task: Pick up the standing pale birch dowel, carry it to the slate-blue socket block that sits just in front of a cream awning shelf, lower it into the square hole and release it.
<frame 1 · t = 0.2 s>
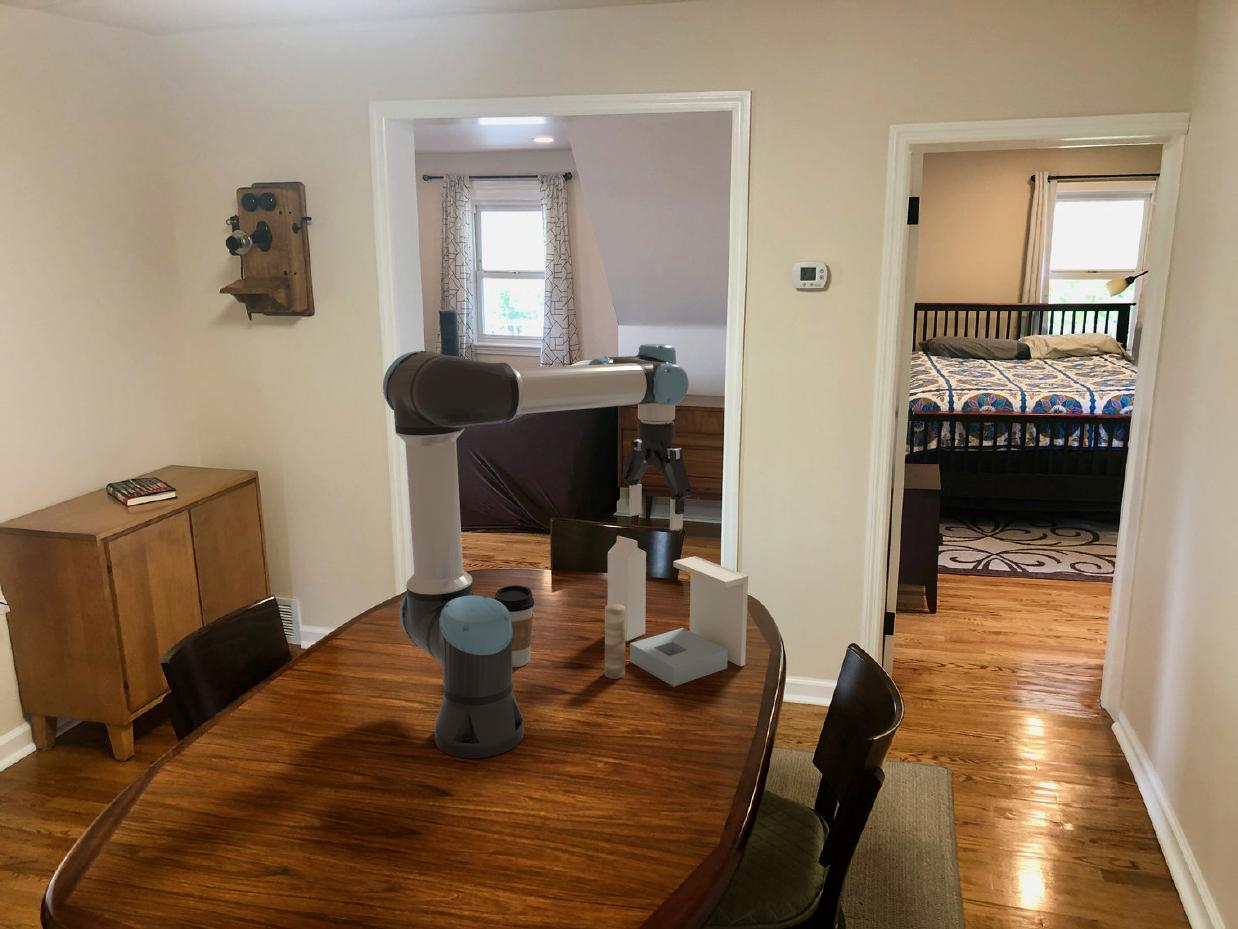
hand: (655, 521, 185), 27 cm above the table, fingers open, 13 cm apart
coffee cup: (515, 662, 183), on the table
socket block: (678, 664, 181), on the table
birch peg: (614, 674, 177), on the table
milk: (626, 634, 197), on the table
awning: (707, 655, 186), on the table
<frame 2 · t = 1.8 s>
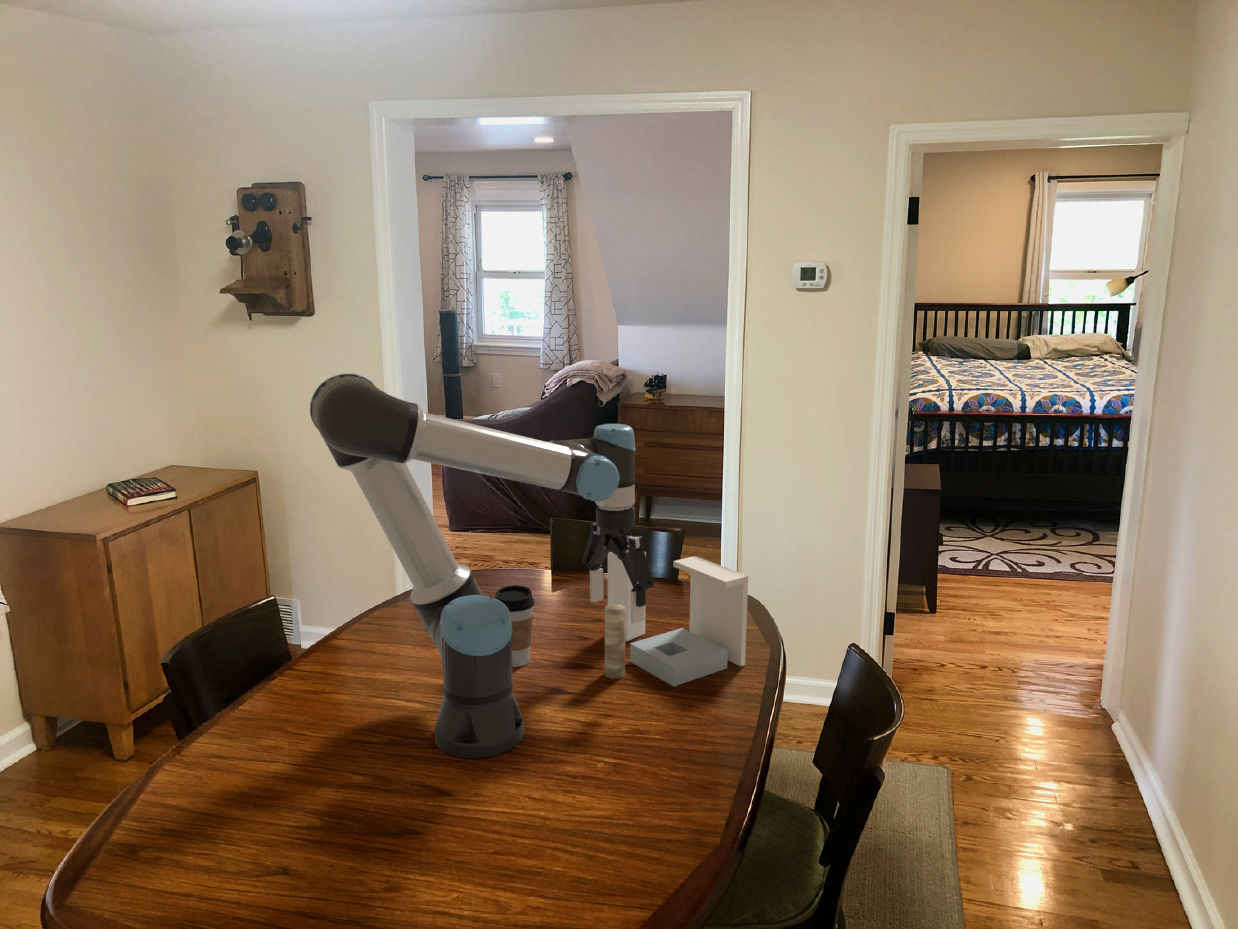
hand: (616, 610, 174), 13 cm above the table, fingers open, 13 cm apart
nothing on the table moved.
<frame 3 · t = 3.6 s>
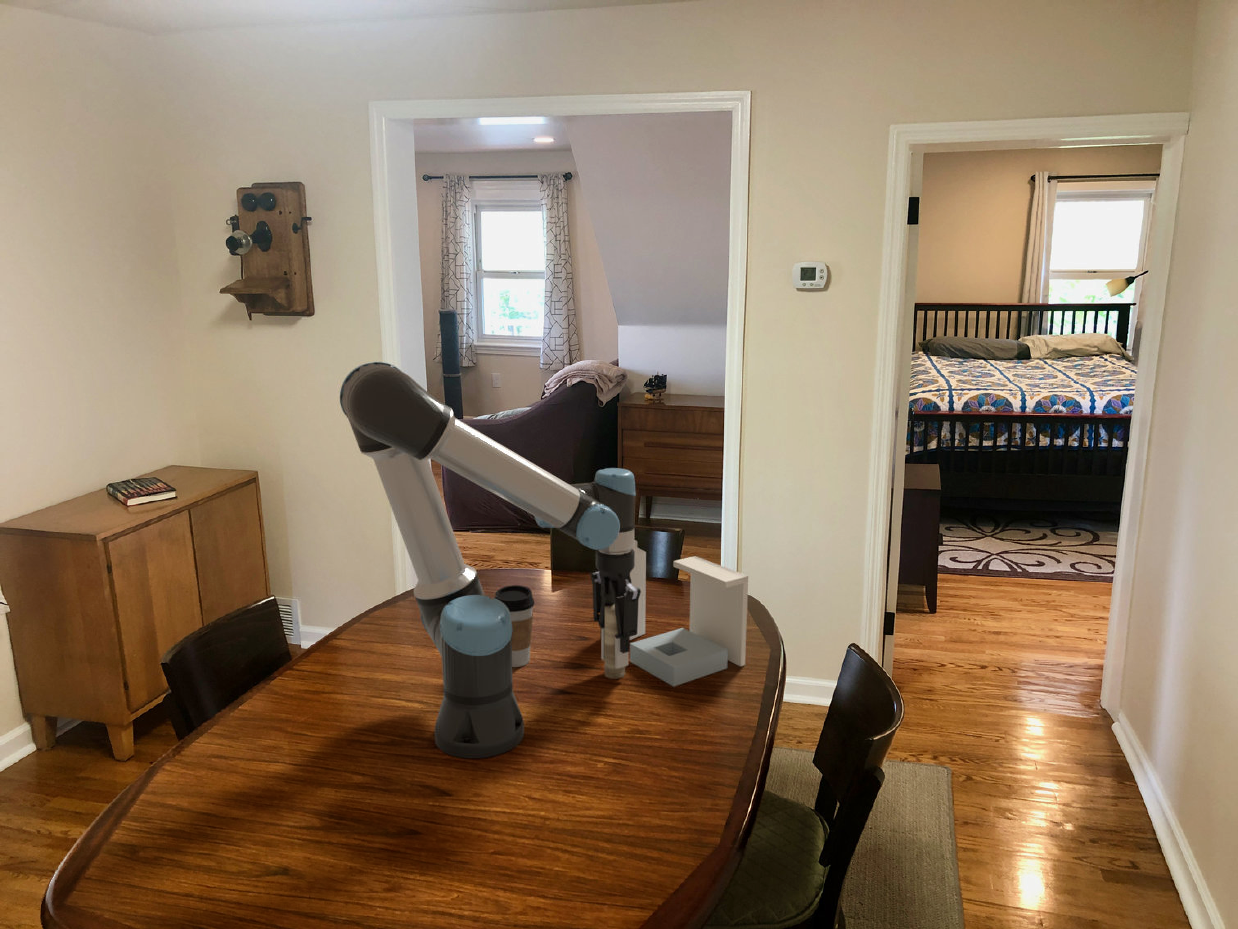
hand: (614, 662, 176), 3 cm above the table, fingers closed on birch peg, 4 cm apart
birch peg: (614, 674, 177), on the table, touching gripper
everything else where it was.
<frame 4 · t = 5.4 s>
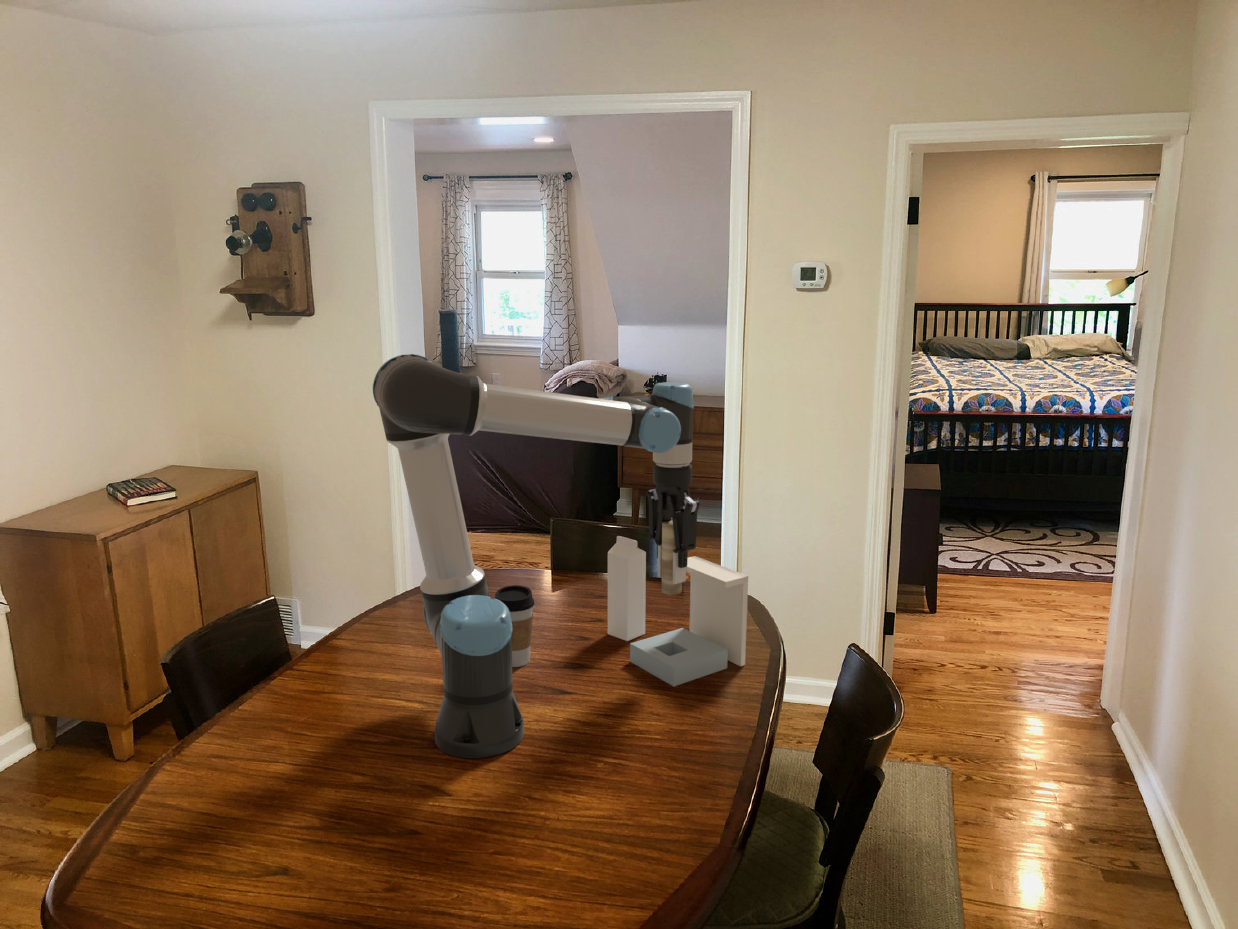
hand: (671, 578, 176), 19 cm above the table, fingers closed on birch peg, 4 cm apart
birch peg: (671, 591, 177), point 16 cm above the table, touching gripper
everything else where it was.
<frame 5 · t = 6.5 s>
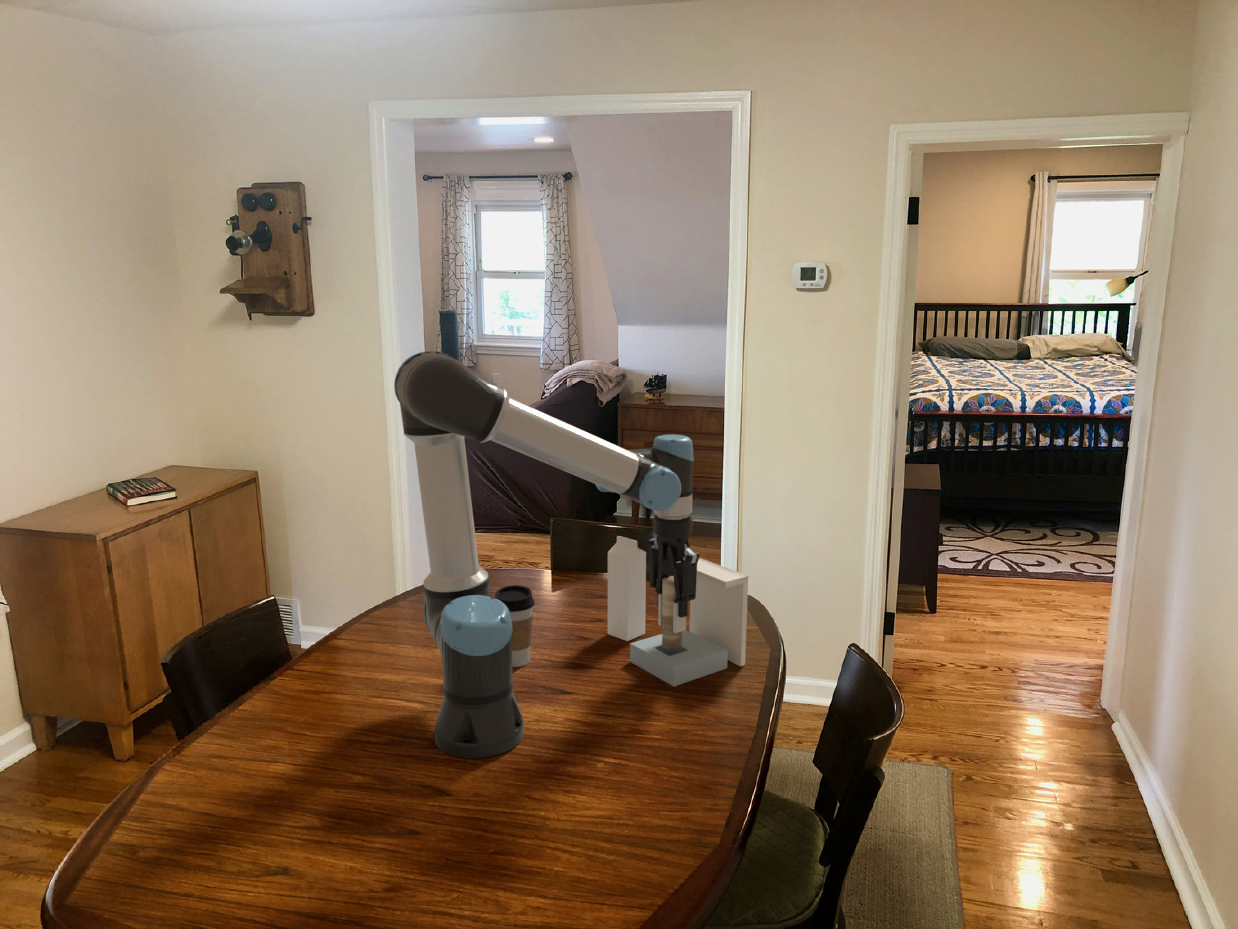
hand: (672, 627, 178), 9 cm above the table, fingers closed on birch peg, 4 cm apart
birch peg: (672, 645, 179), point 5 cm above the table, touching gripper
everything else where it was.
when the fingers open (5 cm above the table, at t = 7.4 s): birch peg drops 1 cm, resting in socket block.
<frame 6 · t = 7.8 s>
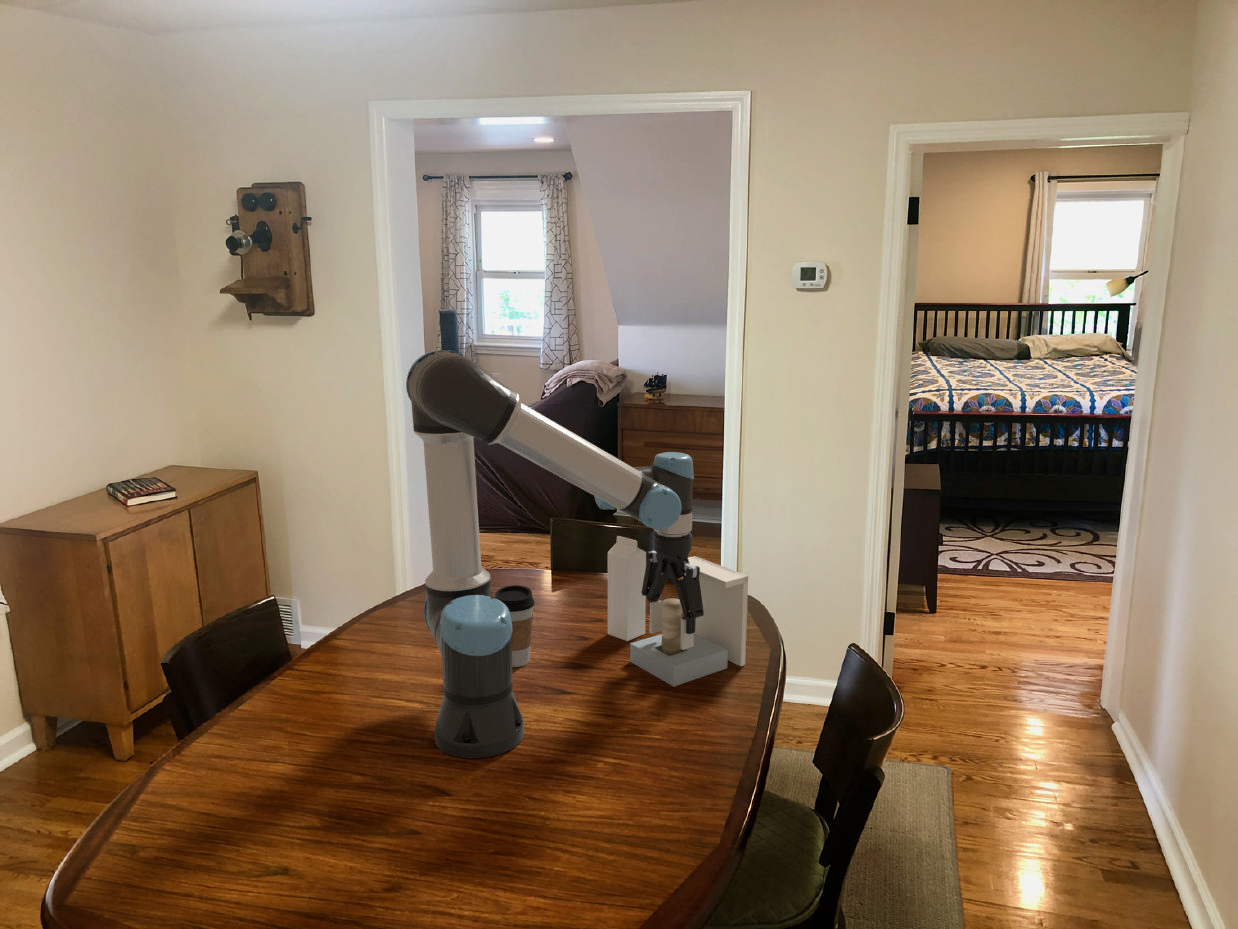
hand: (671, 639, 179), 6 cm above the table, fingers open, 9 cm apart
birch peg: (670, 667, 180), resting in socket block
everything else where it was.
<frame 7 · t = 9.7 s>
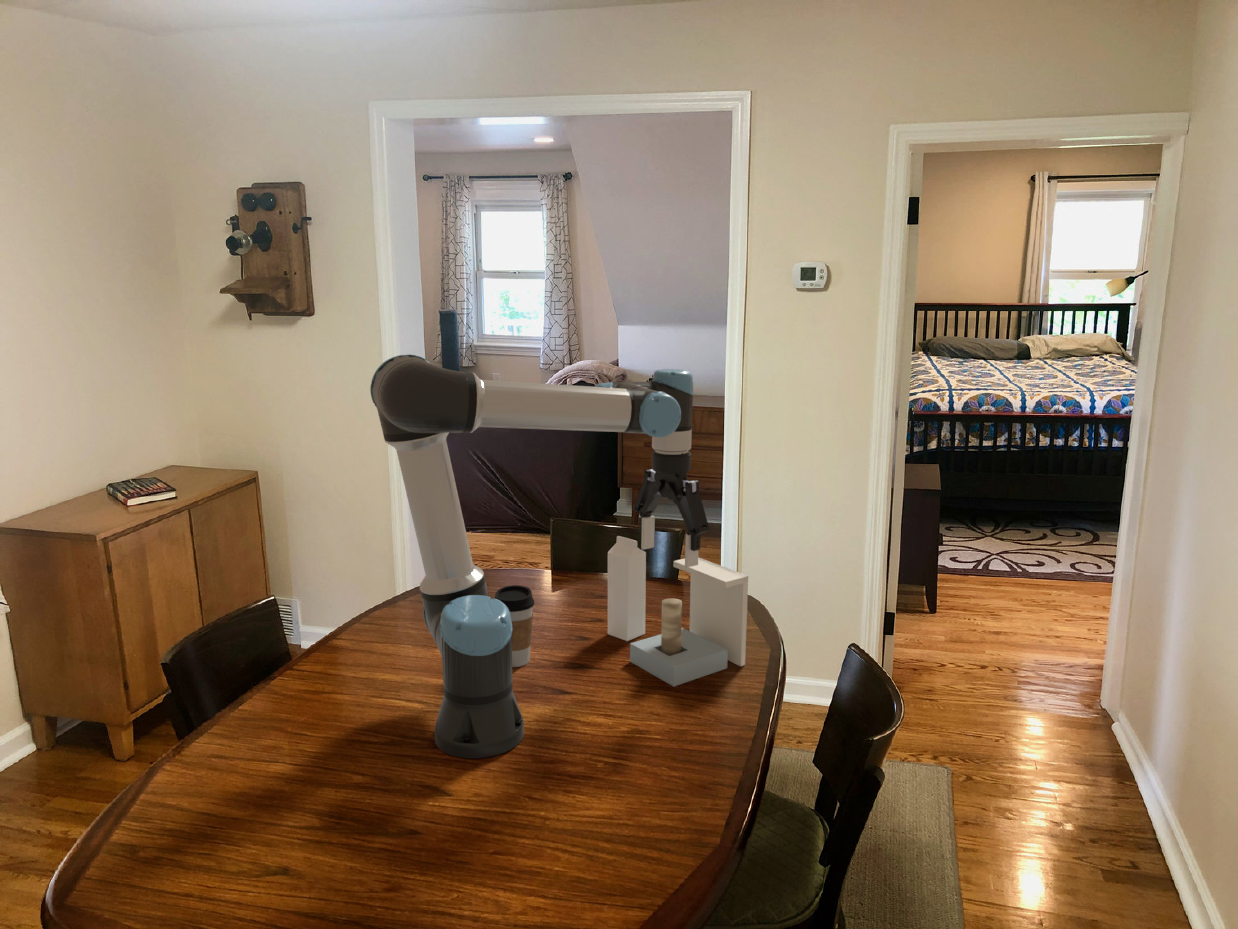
hand: (668, 556, 175), 23 cm above the table, fingers open, 13 cm apart
nothing on the table moved.
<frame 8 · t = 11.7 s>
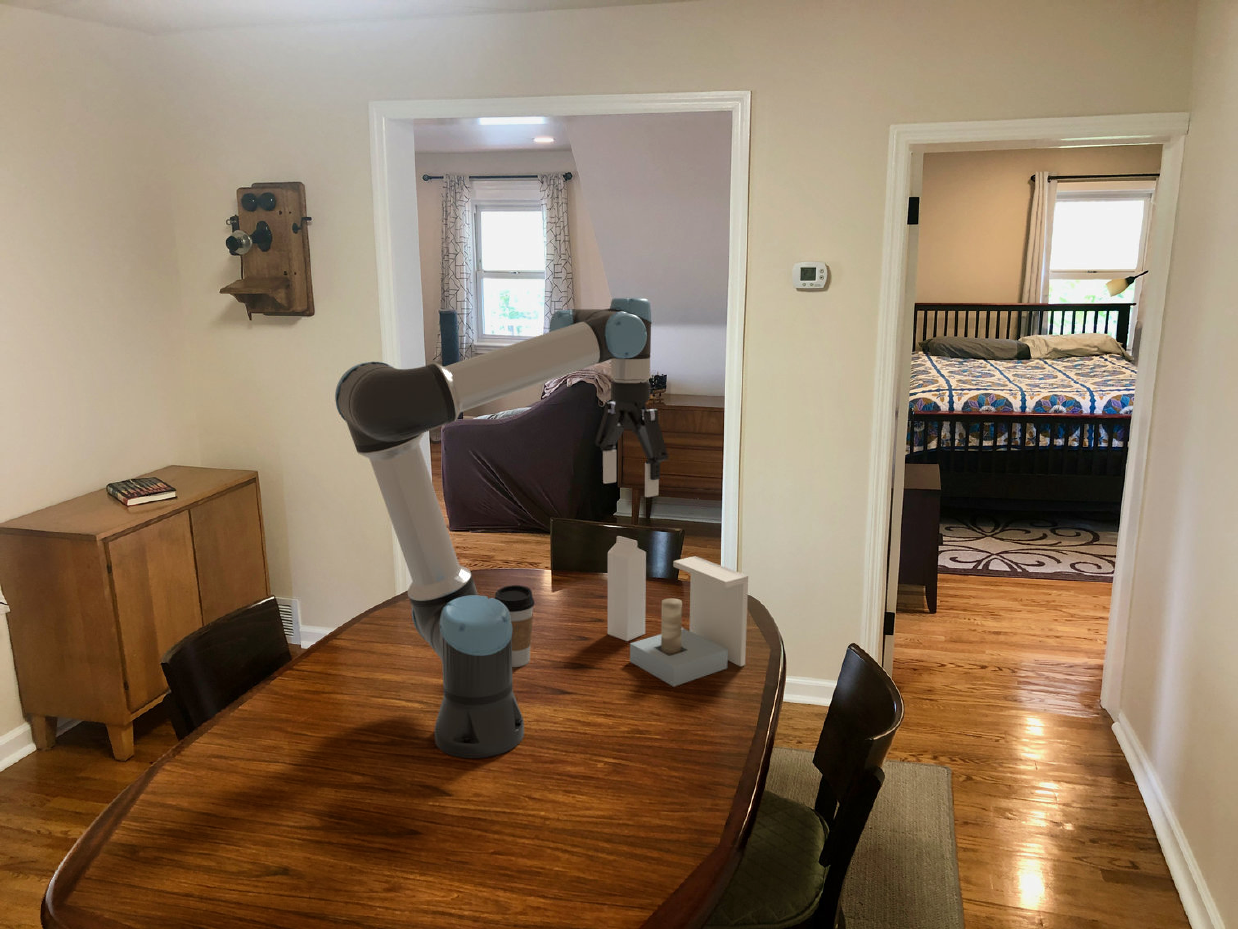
hand: (630, 489, 174), 37 cm above the table, fingers open, 13 cm apart
nothing on the table moved.
at the end: birch peg 0.0 cm from the target spot on the socket block, point 0.0 cm above the socket block's base; birch peg tilted 0°; the gripper is holding nothing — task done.
